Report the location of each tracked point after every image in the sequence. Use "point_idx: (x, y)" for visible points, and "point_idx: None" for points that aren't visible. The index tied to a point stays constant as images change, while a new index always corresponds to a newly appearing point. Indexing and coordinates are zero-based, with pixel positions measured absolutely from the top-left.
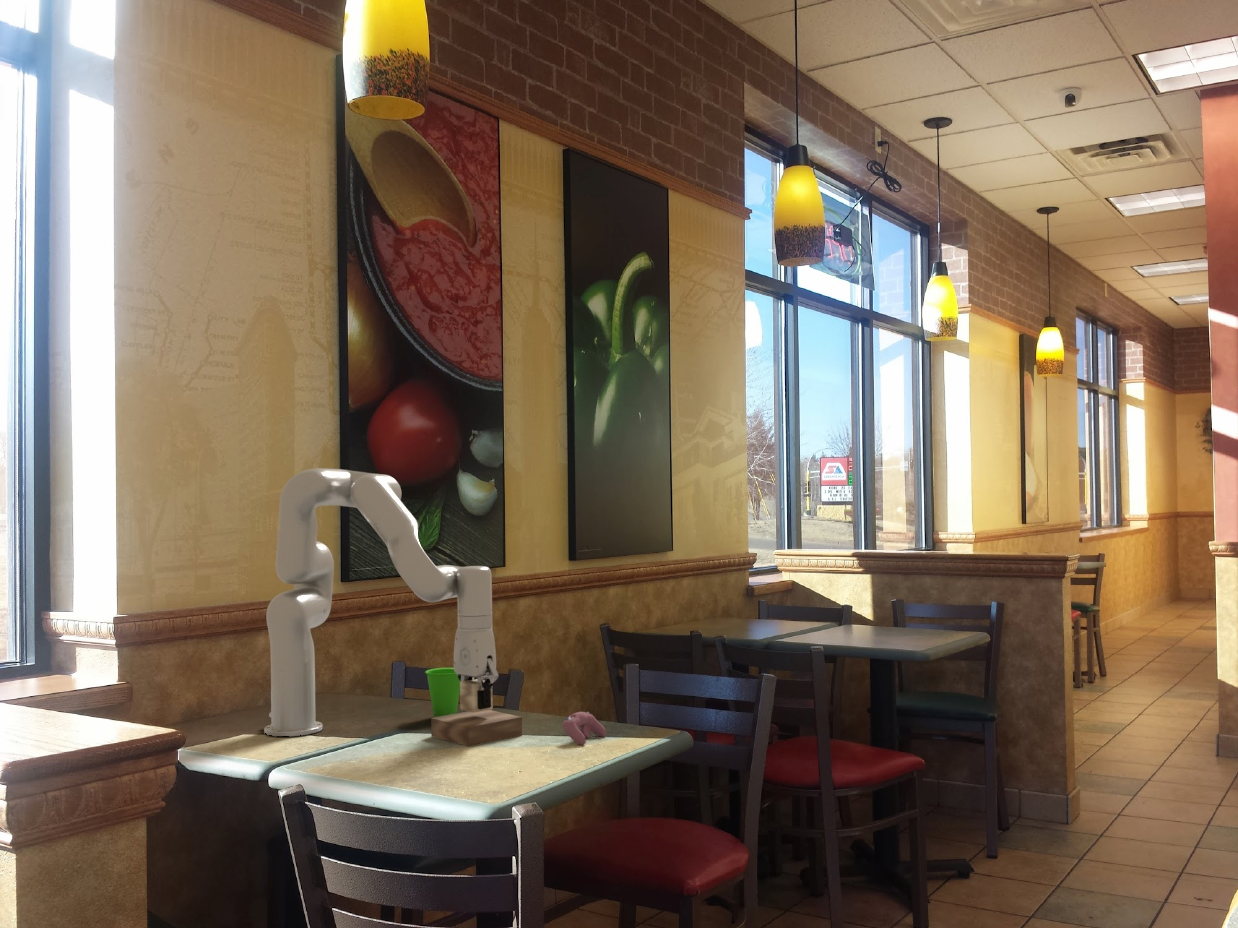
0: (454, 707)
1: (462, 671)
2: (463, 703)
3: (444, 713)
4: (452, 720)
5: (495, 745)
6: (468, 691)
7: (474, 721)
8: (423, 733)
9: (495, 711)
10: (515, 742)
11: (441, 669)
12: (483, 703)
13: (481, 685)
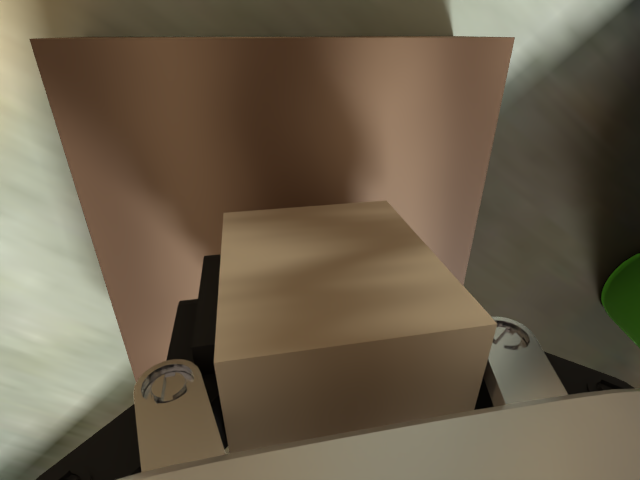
0: (628, 322)
1: (513, 451)
2: (363, 222)
3: (636, 276)
4: (341, 96)
5: (23, 161)
6: (313, 287)
7: (208, 183)
8: (537, 51)
9: None
10: (35, 264)
11: None
12: (185, 300)
13: (146, 410)
